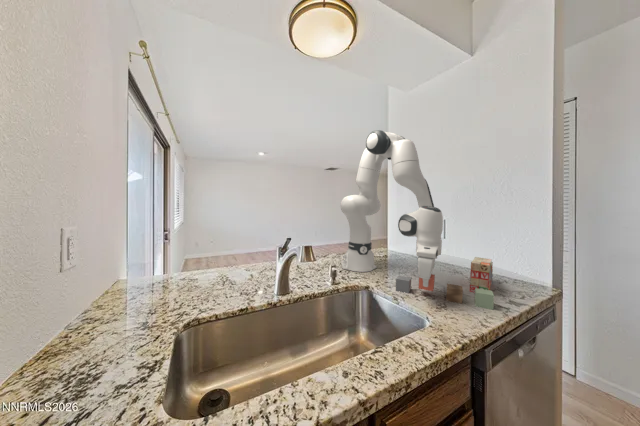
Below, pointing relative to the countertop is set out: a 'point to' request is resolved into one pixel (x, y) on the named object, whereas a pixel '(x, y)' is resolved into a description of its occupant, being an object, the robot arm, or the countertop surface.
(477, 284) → the cardboard box
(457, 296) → the walnut cube
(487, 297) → the sage cube
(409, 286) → the charcoal cube
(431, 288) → the red cube
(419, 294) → the countertop surface
